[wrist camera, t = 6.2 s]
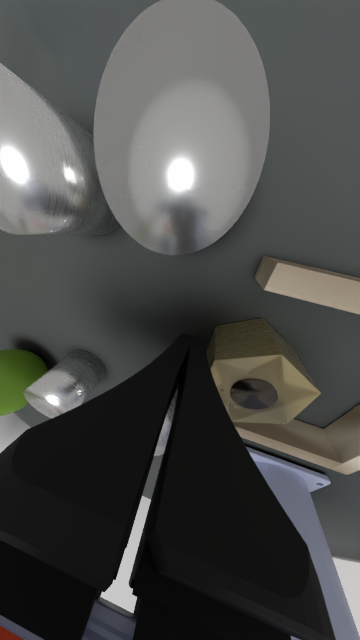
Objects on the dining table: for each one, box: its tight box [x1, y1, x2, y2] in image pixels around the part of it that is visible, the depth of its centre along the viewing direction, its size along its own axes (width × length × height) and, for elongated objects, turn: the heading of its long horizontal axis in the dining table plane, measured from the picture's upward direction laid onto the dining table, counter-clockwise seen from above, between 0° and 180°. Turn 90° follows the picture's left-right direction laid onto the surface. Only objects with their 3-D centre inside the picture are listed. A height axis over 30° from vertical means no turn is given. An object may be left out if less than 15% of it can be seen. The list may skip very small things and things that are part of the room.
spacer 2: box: [23, 350, 106, 418], centre depth 13 cm, size 4×4×4 cm
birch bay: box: [233, 256, 360, 475], centre depth 8 cm, size 11×10×2 cm
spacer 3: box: [154, 388, 178, 456], centre depth 12 cm, size 4×4×4 cm
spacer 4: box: [94, 0, 270, 255], centre depth 5 cm, size 4×4×4 cm
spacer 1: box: [0, 63, 121, 235], centre depth 6 cm, size 4×4×4 cm
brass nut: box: [206, 318, 321, 424], centre depth 8 cm, size 5×4×3 cm
